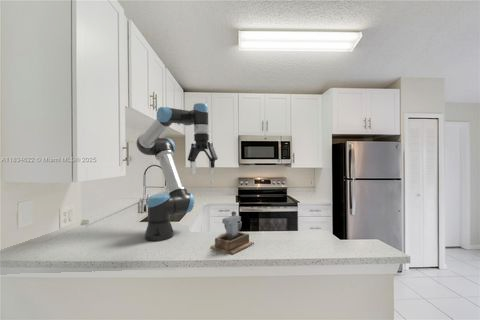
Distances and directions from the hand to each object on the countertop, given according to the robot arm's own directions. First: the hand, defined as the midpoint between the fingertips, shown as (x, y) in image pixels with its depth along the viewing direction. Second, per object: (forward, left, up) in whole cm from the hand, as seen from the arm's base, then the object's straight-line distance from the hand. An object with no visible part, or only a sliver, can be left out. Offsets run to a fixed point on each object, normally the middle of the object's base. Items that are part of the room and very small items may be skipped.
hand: (202, 174), depth 126 cm
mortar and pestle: (+6, +17, -35) cm, 39 cm away
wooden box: (+18, +2, -35) cm, 39 cm away
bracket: (+18, +2, -34) cm, 38 cm away
